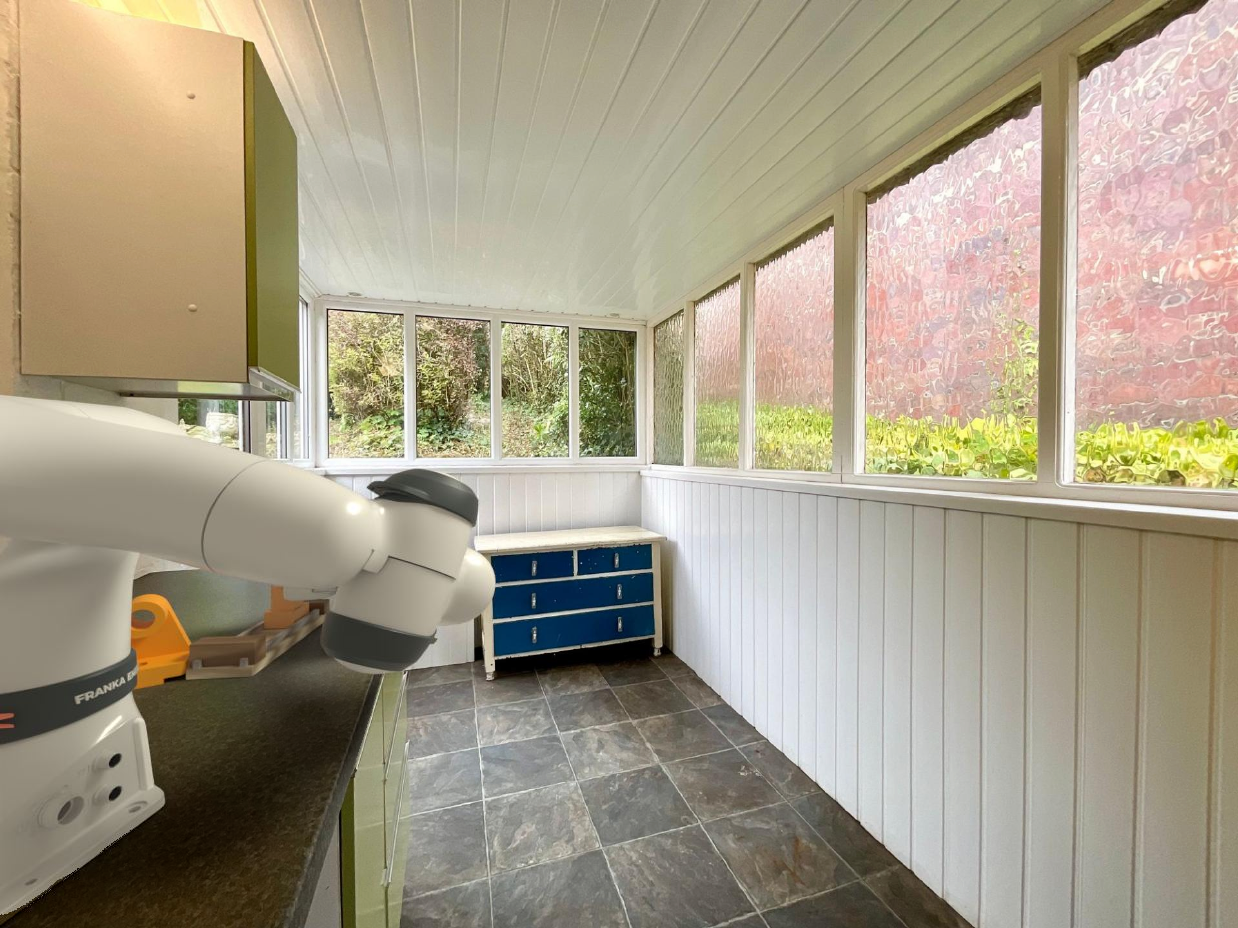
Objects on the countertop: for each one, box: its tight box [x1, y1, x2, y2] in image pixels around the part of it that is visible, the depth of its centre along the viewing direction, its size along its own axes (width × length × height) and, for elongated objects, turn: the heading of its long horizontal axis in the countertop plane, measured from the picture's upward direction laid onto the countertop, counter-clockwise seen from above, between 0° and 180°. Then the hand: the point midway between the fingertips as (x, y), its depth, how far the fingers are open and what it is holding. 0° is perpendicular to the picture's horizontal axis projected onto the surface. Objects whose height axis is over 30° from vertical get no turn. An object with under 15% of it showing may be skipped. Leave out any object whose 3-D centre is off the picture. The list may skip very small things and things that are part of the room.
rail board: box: [185, 598, 331, 681], centre depth 86 cm, size 27×9×5 cm, turn 9°
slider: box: [263, 585, 309, 629], centre depth 92 cm, size 6×5×13 cm
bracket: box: [131, 593, 192, 691], centre depth 72 cm, size 11×7×12 cm, turn 126°
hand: (282, 577), depth 92 cm, fingers closed on slider, 3 cm apart
